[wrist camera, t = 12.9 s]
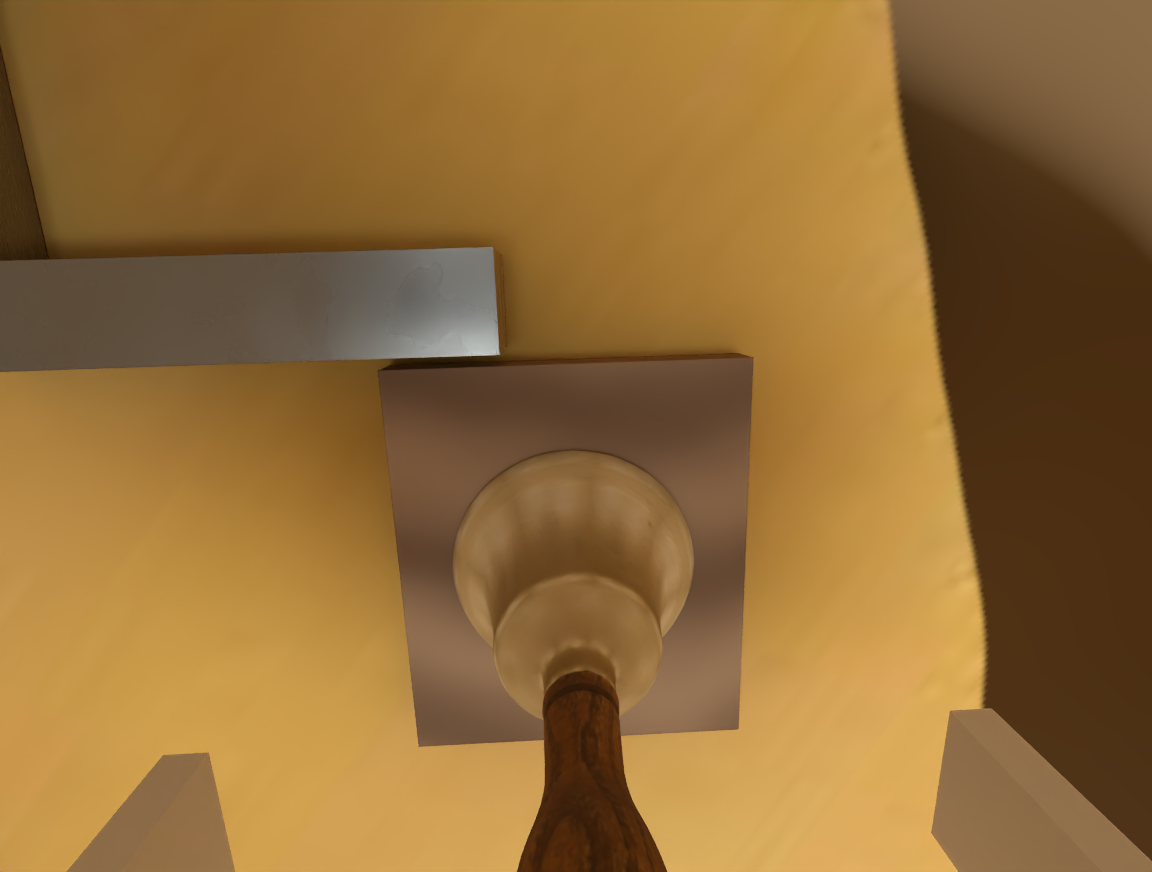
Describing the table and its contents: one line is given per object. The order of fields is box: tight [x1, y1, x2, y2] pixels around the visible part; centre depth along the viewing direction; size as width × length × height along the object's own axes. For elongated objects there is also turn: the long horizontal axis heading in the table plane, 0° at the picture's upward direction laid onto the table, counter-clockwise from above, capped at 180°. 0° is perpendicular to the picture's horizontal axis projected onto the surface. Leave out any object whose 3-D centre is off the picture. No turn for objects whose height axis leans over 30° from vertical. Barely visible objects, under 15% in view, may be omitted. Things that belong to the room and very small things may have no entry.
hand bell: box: [453, 450, 694, 872], centre depth 12 cm, size 8×8×16 cm
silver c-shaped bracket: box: [0, 51, 507, 372], centre depth 16 cm, size 17×16×3 cm
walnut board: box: [378, 353, 753, 747], centre depth 21 cm, size 14×12×2 cm
